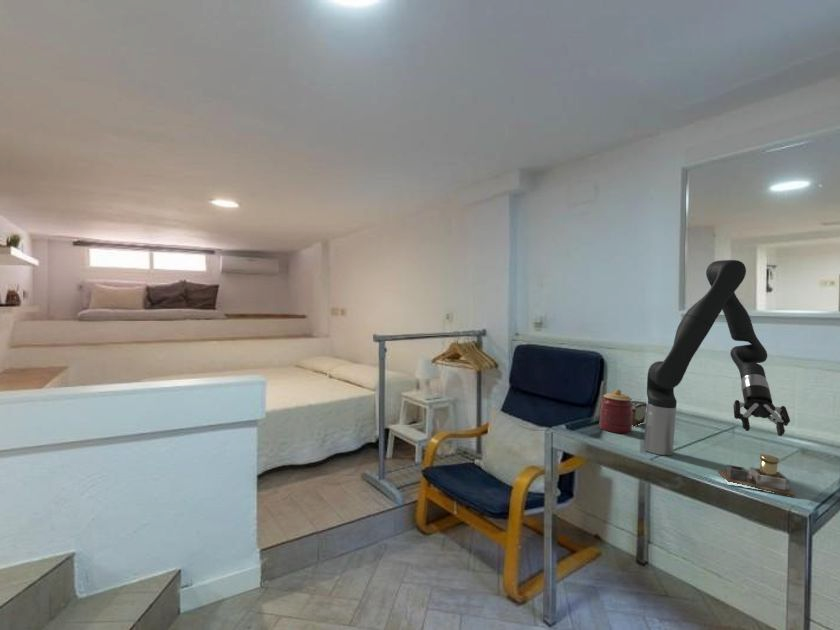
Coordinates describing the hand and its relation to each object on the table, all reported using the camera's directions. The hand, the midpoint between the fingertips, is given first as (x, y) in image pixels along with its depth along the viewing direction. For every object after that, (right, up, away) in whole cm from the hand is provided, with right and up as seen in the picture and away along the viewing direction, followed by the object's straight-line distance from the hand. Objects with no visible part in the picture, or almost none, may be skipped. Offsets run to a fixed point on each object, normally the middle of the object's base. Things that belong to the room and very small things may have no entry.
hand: (764, 432), depth 138 cm
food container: (-11, -13, +63) cm, 65 cm away
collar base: (-6, -15, -4) cm, 17 cm away
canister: (-25, -13, +50) cm, 57 cm away
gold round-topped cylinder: (-3, -14, -5) cm, 15 cm away
